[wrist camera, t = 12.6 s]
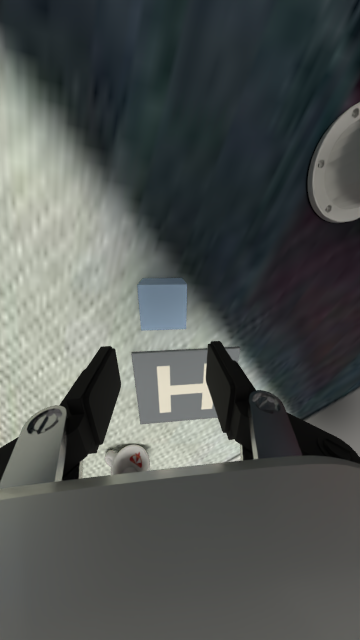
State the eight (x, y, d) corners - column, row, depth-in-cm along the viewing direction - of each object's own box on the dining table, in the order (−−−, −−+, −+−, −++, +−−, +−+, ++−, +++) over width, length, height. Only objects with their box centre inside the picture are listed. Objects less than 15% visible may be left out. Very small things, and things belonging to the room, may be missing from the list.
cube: (182, 277, 26) (187, 284, 20) (181, 314, 28) (186, 328, 23) (143, 278, 25) (137, 285, 20) (145, 314, 28) (141, 330, 22)
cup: (92, 483, 37) (91, 466, 34) (117, 448, 44) (119, 430, 41) (131, 515, 34) (134, 500, 31) (152, 472, 41) (156, 456, 38)
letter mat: (239, 346, 32) (240, 348, 31) (228, 414, 38) (229, 416, 38) (132, 352, 30) (131, 354, 29) (140, 422, 37) (140, 424, 36)
